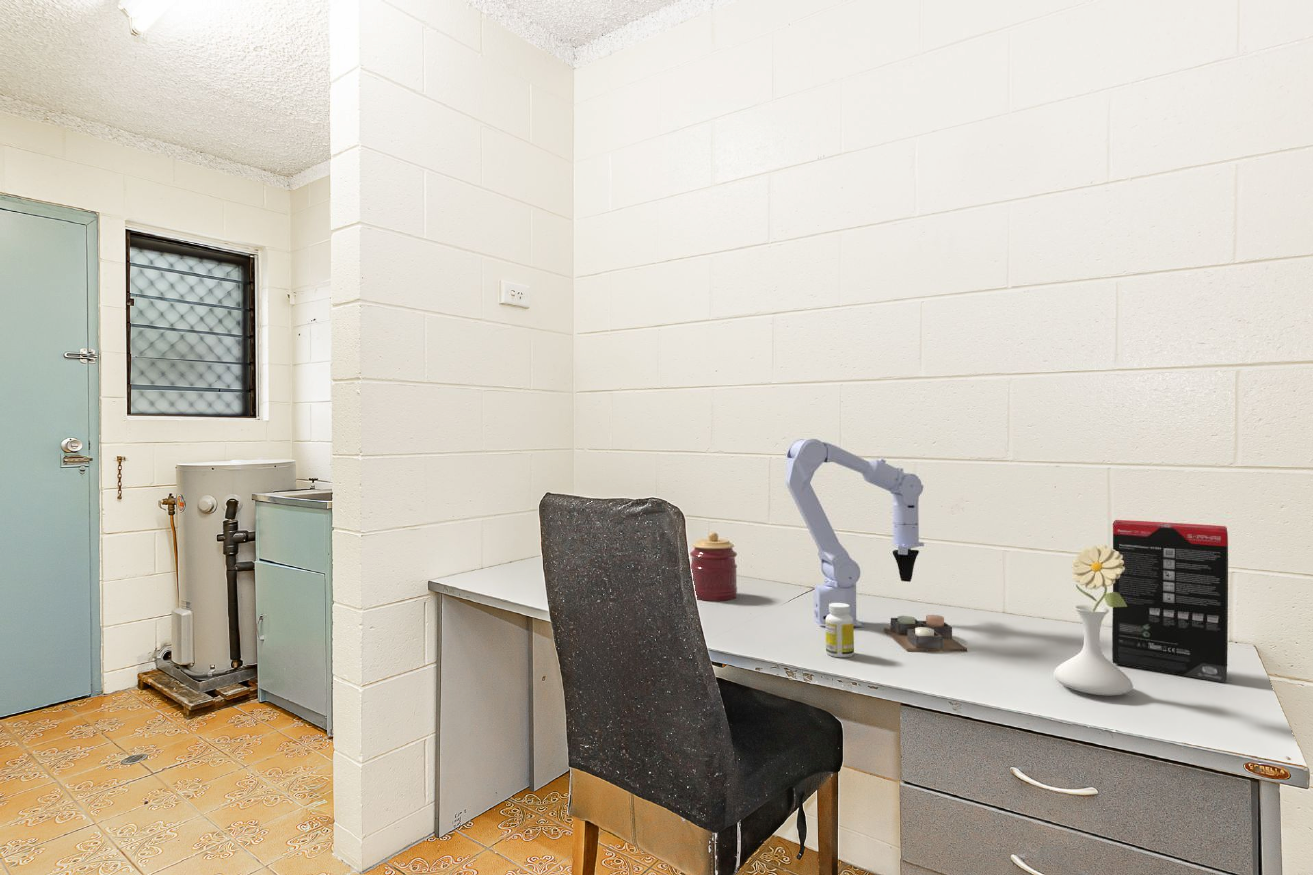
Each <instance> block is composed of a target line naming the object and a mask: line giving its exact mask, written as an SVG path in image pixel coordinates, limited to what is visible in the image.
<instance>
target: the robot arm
mask: <svg viewBox="0 0 1313 875" xmlns="http://www.w3.org/2000/svg"><path fill="white" fill-rule="evenodd" d="M785 460H786V470H785V485H786V486H787V489H788V492H789V493H790V495H791V497H792V499H793V501H794V503H795V505H796V507H797V509H798V511H799V513H800V515H801V517H802V519H803V521H804V523H805V525H806V527H807V528H808V532H809V534H810V535H811V537H812V539H813V542H814V543H815V545H816V547H817V549H818V552H817V556H818V557H819V560H820V570H821V572H822V574H823V575H824V577H825V578H824V583H823V584H815V586H814V592H813V594H814V595H813V602H814V603H813V605H814V606H813V609H814V610H813V612H814V615H813V619H814V620H815V622H816V623H817V624H818V625H819V626H820V627H826V617H827V615H829V614H830V612H829V604H831V603H845V604H848V605H849V606H850V611H849V612H850V613H848V615H850V616H851V617H852V618H853V627H863V624H862V623H861V622H860V621H859V620H858V619H857V583H858V581H859V579H860V577H861V568H860V566H859V564H858V563H857V562H856V561H855V560H854V559H852V558H851V556H850V554H849V552H848V551H847V550H846V548H844V546H843V545H842V544H841V543H840V541H839V538H838V537H837V534H836V532H835V531H834V529H833V527H832V525H831V523H830V521H829V519H828V517H827V515H826V513H825V511H824V509H823V507H822V504H821V503H820V500H819V498H818V497H817V495H816V493H815V491H814V488H813V486H812V485H811V481H812V479H813V477H814V474H815V472H816V471H817V470H818V469H819V467H820V466H822V464H823V463H827V464H828V463H835V464H837V465H840V466H842V467H845V468H847V469H850V470H852V471H855V472H857V473H860V474H861V475H862V477H863V479H864V481H865V482H868V483H870V484H872V485H874V486H877V487H878V488H881V489H883V490H886V491H888V492H890V494H891V495H892V542H891V543H892V544H891V545H892V546H893V547H895V548H897V549H894V550H892V555H893V557H894V559H895V562H896V564H897V568H898V574H899V578H900V580H901V582H908V583H910V582H912V578H913V574H914V567H915V563H916V561H917V560H916V559H917V557H918V555H919V553H920V550H918V549H915V548H918V547H925V542H922V541H921V542H920V540H919V539H920V536H919V533H920V531H919V527H920V526H919V518H920V517H919V499H920V498H919V497H920V496H921V495H922V493H923V491H924V485H923V483H922V480H921V479H920V478H919V476H917V474H914V473H909V472H904V468H902V467H900V466H898V467H895V466H893V465H890V464H888V463H886V462H887V460H885V459H884V458H878V459H876V458H874V459H870V460H865V459H864V458H861V457H859V456H857V455H856V454H853V453H851V452H849V451H847V450H845V449H843V448H841V447H838V446H837V445H835V444H831V443H828V442H825V441H821V440H819V439H817V438H809V439H801V438H800V439H796V440H794V441H793V442H792V443H791V444H790V446H789V448H788V450H787V452H786V454H785Z"/></svg>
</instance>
